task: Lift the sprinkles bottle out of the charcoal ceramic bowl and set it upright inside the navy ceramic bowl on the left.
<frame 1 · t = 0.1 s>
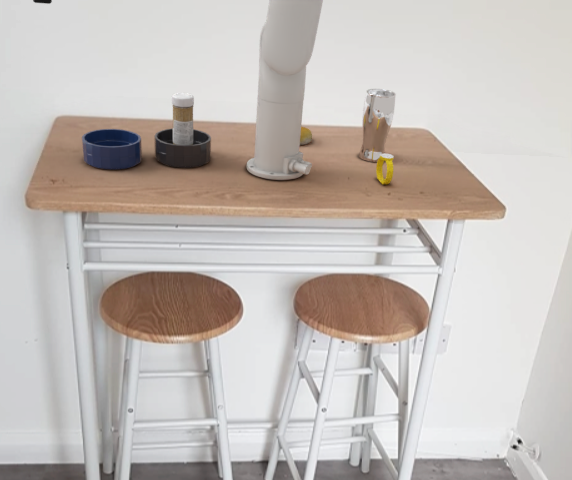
charcoal bowl: (183, 159, 155), on the table
sprinkles bottle: (183, 158, 155), resting on charcoal bowl
bread roll: (293, 140, 172), on the table
beer glass: (371, 158, 166), on the table
navy bowl: (113, 160, 151), on the table
watch: (382, 183, 153), on the table
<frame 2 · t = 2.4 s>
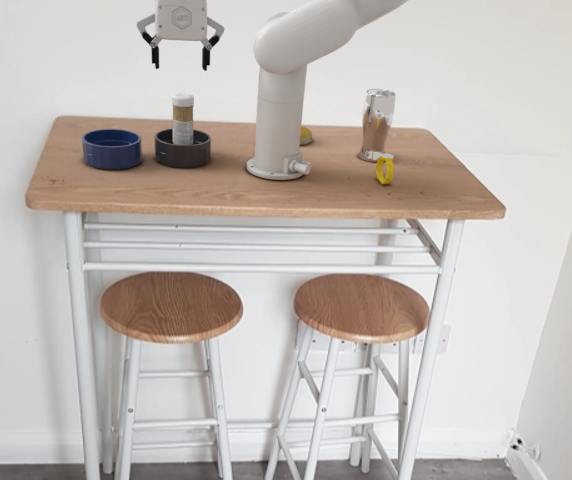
hand: (180, 68, 145), 19 cm above the table, tool pointing down, fingers open, 9 cm apart
nothing on the table moved.
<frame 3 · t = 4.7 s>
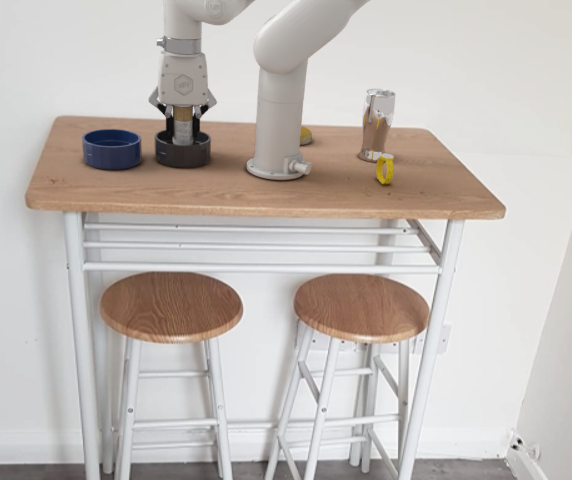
hand: (182, 134, 152), 6 cm above the table, tool pointing down, fingers closed on sprinkles bottle, 4 cm apart
sprinkles bottle: (183, 158, 155), resting on charcoal bowl, touching gripper
everything else where it was.
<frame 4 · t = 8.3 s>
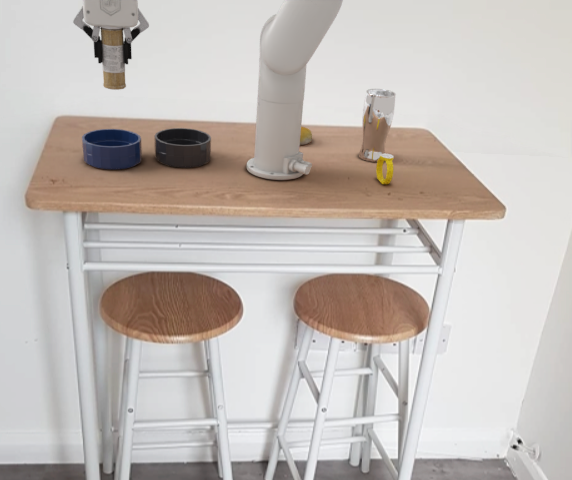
hand: (113, 61, 141), 20 cm above the table, tool pointing down, fingers closed on sprinkles bottle, 4 cm apart
sprinkles bottle: (114, 88, 143), point 15 cm above the table, touching gripper
everything else where it was.
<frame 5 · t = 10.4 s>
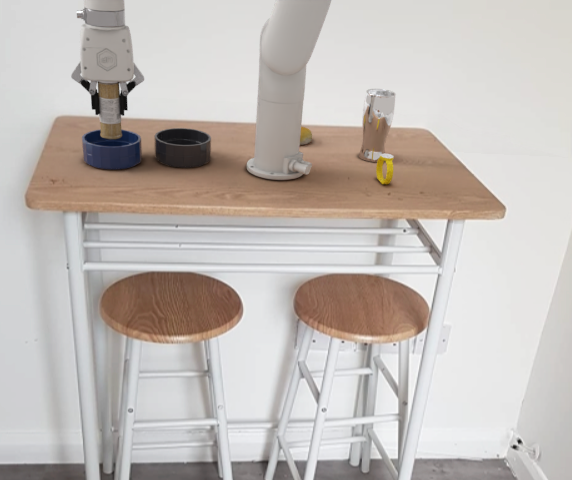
hand: (110, 112, 146), 10 cm above the table, tool pointing down, fingers closed on sprinkles bottle, 4 cm apart
sprinkles bottle: (111, 137, 148), point 5 cm above the table, touching gripper
everything else where it was.
when the fingers open (6 cm above the table, at t = 12.0 s): sprinkles bottle stays where it is, resting on navy bowl.
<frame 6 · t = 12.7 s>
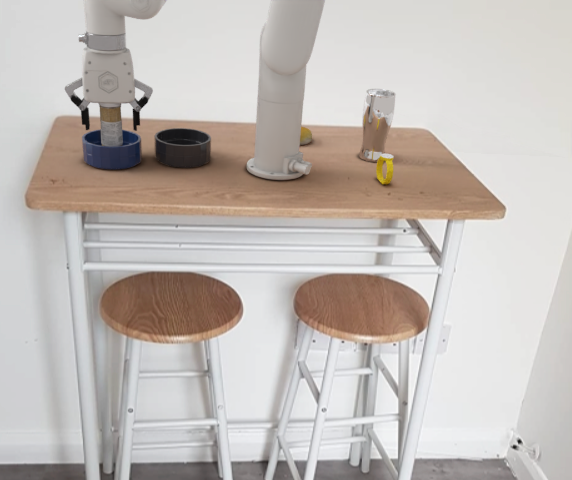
hand: (111, 128, 147), 7 cm above the table, tool pointing down, fingers open, 9 cm apart
sprinkles bottle: (113, 159, 151), resting on navy bowl
everything else where it was.
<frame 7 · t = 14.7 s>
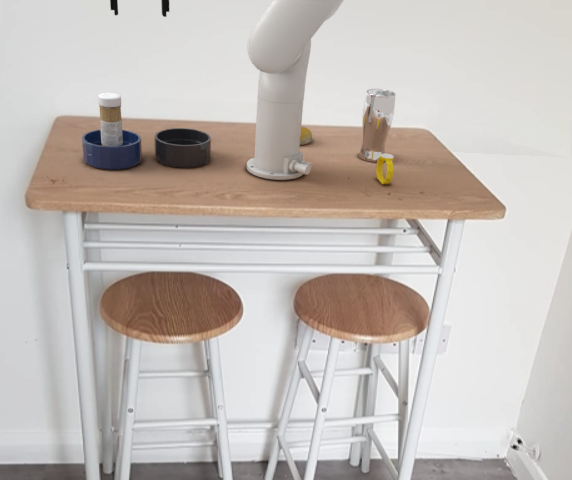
hand: (140, 15, 145), 28 cm above the table, tool pointing down, fingers open, 9 cm apart
nothing on the table moved.
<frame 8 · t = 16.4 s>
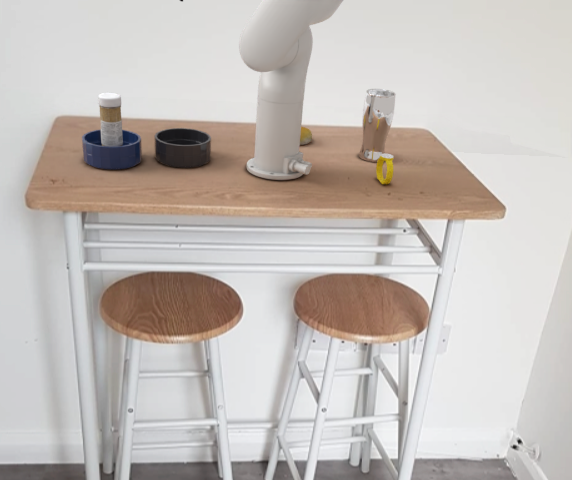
nothing on the table moved.
at the end: sprinkles bottle 0.0 cm off-centre in the navy bowl, point 0.2 cm above the navy bowl's base; sprinkles bottle tilted 0°; the gripper is holding nothing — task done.
